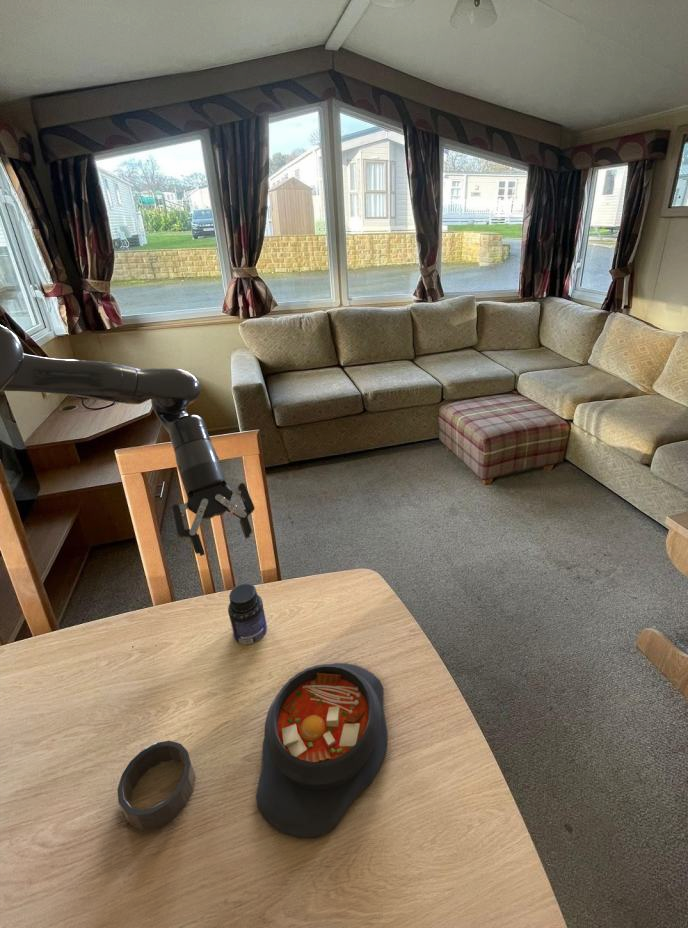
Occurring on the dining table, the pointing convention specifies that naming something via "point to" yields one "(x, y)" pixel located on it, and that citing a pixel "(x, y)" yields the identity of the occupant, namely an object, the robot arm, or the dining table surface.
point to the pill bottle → (247, 614)
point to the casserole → (321, 747)
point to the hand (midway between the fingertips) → (225, 546)
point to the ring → (174, 802)
